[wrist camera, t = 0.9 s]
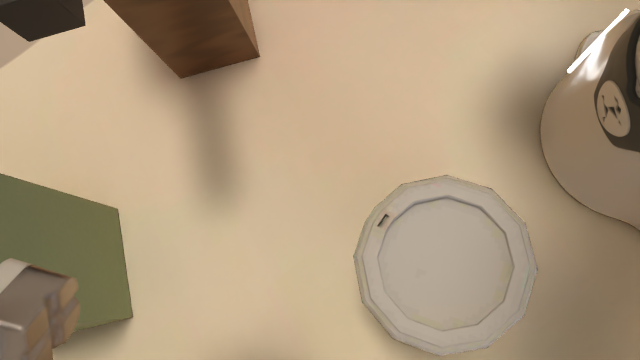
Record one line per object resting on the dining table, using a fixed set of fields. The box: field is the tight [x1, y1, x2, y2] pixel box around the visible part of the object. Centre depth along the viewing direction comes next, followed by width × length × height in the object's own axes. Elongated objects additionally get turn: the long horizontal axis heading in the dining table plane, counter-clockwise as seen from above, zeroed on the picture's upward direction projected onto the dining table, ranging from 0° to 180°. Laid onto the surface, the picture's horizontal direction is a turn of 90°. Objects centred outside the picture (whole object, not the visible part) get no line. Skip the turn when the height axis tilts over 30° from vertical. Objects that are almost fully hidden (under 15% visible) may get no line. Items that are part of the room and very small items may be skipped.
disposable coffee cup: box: [353, 175, 538, 356], centre depth 37 cm, size 11×11×15 cm
